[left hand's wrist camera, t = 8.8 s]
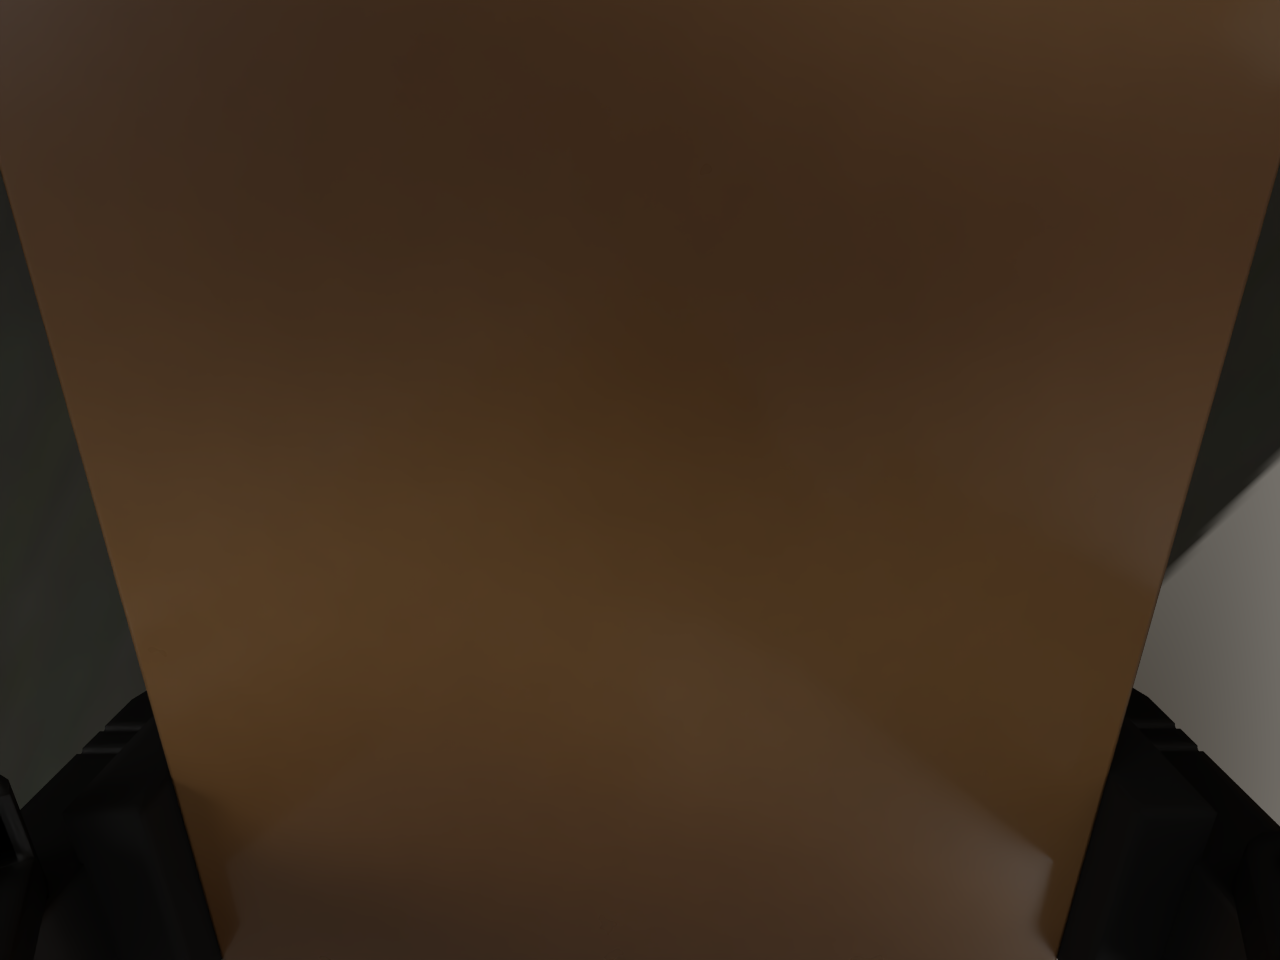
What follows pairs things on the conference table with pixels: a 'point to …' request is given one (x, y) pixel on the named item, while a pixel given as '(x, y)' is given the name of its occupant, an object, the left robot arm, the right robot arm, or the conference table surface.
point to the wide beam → (639, 443)
